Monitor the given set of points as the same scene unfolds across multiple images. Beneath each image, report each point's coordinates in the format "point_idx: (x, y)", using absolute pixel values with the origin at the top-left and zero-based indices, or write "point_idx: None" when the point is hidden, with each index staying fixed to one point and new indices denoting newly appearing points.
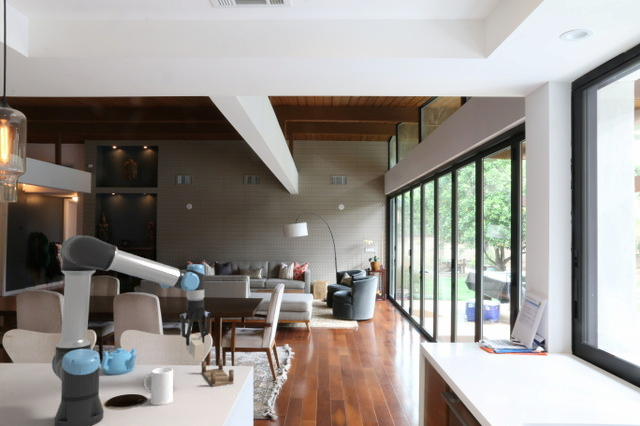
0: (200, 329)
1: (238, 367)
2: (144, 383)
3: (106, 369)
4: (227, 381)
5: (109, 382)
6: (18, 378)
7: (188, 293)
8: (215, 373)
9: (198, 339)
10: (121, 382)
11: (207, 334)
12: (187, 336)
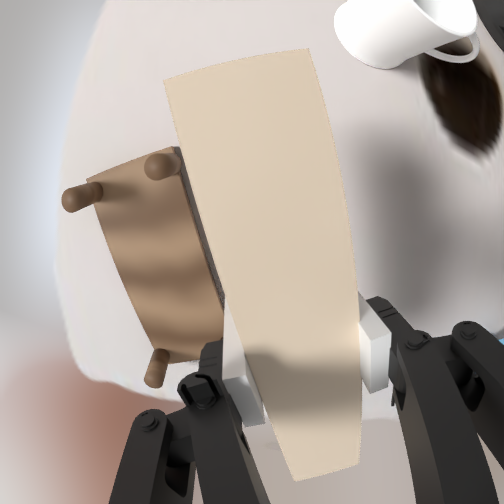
0: (253, 480)
1: (108, 372)
2: (465, 55)
3: (501, 339)
4: (108, 183)
5: (498, 279)
6: None
7: None
8: (145, 163)
9: (269, 372)
10: (482, 275)
11: (149, 413)
12: (428, 344)
